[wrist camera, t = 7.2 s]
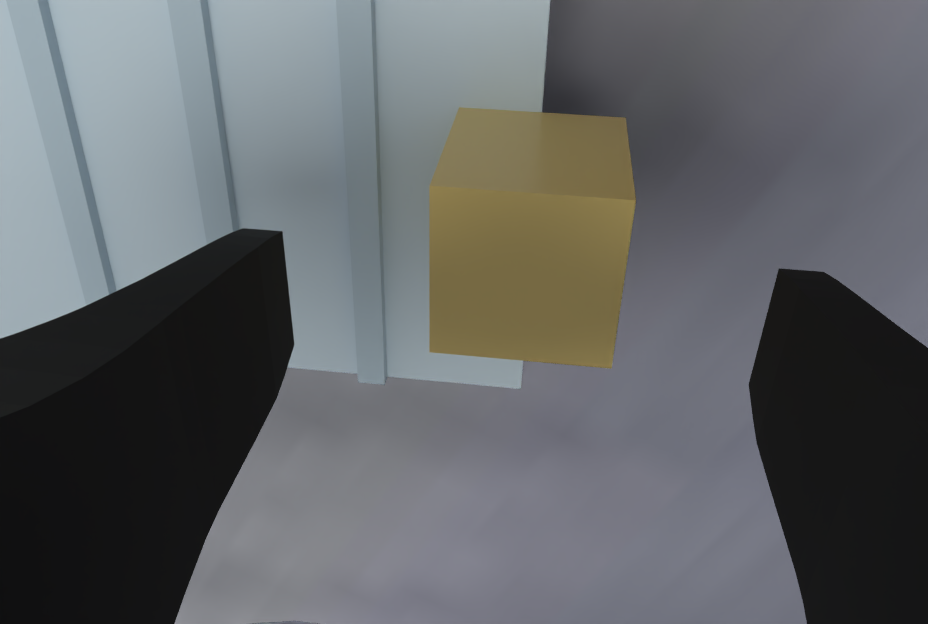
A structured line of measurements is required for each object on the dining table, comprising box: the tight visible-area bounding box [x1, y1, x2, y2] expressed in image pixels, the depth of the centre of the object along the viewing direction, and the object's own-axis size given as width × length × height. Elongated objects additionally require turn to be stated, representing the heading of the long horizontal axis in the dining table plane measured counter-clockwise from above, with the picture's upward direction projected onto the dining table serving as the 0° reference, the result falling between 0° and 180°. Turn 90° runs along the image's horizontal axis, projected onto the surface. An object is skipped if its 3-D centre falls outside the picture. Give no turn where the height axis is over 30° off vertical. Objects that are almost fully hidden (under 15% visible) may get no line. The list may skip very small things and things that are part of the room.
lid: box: [0, 0, 636, 389], centre depth 15 cm, size 10×14×4 cm
